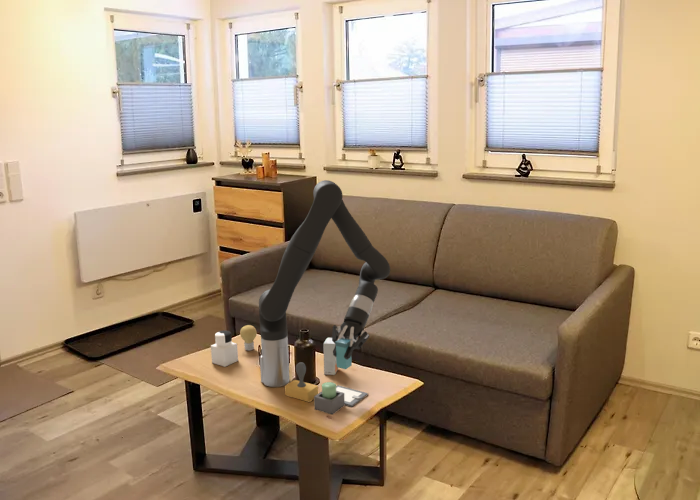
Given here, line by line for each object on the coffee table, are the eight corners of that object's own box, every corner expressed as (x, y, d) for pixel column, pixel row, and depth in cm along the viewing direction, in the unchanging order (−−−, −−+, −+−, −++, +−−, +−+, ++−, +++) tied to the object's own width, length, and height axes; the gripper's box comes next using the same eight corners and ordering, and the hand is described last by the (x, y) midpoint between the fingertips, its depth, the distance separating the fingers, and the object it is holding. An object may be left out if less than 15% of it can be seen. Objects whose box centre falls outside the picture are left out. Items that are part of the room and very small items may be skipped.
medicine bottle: (225, 356, 254) (223, 327, 252) (238, 360, 250) (236, 331, 247) (211, 363, 249) (209, 333, 246) (224, 367, 245) (222, 337, 242)
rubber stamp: (318, 395, 221) (317, 362, 218) (308, 402, 216) (307, 368, 213) (294, 389, 226) (293, 356, 223) (284, 395, 221) (283, 362, 218)
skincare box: (335, 375, 236) (334, 344, 233) (323, 374, 237) (322, 343, 234) (339, 368, 242) (338, 337, 239) (327, 367, 243) (326, 337, 240)
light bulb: (260, 349, 261) (259, 325, 259) (248, 353, 257) (246, 329, 254) (250, 345, 265) (249, 321, 263) (238, 349, 261) (236, 326, 259)
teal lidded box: (336, 367, 217) (335, 341, 214) (342, 363, 220) (341, 337, 217) (345, 369, 215) (345, 343, 212) (352, 365, 218) (351, 339, 215)
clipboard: (321, 398, 219) (321, 395, 218) (337, 386, 227) (337, 384, 227) (351, 406, 212) (351, 404, 212) (367, 394, 221) (367, 391, 220)
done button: (319, 397, 211) (318, 386, 210) (327, 392, 214) (327, 381, 213) (331, 401, 208) (330, 389, 207) (339, 395, 212) (338, 384, 211)
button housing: (314, 409, 211) (314, 396, 210) (326, 400, 217) (326, 388, 216) (332, 414, 208) (332, 401, 206) (344, 405, 213) (344, 392, 212)
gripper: (337, 302, 222) (317, 348, 215) (373, 309, 215) (354, 356, 208) (345, 312, 228) (327, 357, 221) (381, 319, 221) (363, 366, 214)
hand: (340, 357), depth 214 cm, fingers closed on teal lidded box, 3 cm apart
